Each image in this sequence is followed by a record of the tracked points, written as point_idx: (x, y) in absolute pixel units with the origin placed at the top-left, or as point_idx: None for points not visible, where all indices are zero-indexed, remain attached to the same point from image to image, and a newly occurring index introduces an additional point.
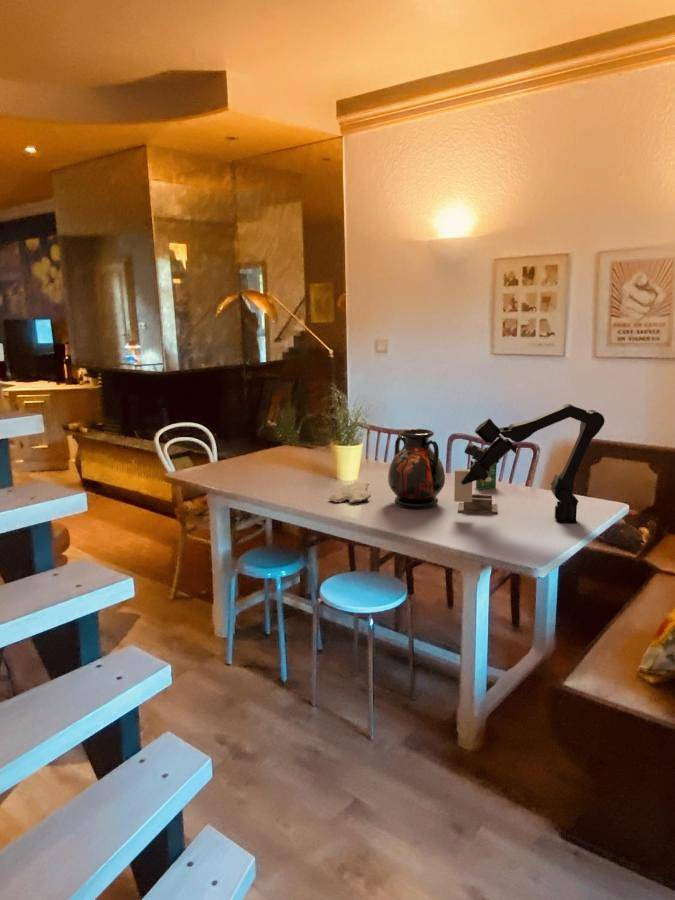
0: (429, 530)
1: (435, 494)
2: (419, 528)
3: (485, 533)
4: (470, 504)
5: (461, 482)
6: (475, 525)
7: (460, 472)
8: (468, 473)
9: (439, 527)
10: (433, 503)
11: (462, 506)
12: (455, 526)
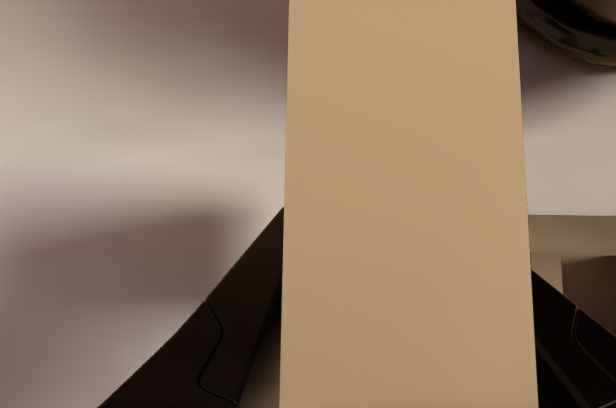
0: (65, 64)
1: (580, 9)
2: (97, 8)
3: (27, 399)
4: None
5: (283, 208)
6: None
7: (286, 148)
8: (168, 353)
9: (124, 116)
10: (548, 37)
11: (562, 244)
12: (151, 209)
